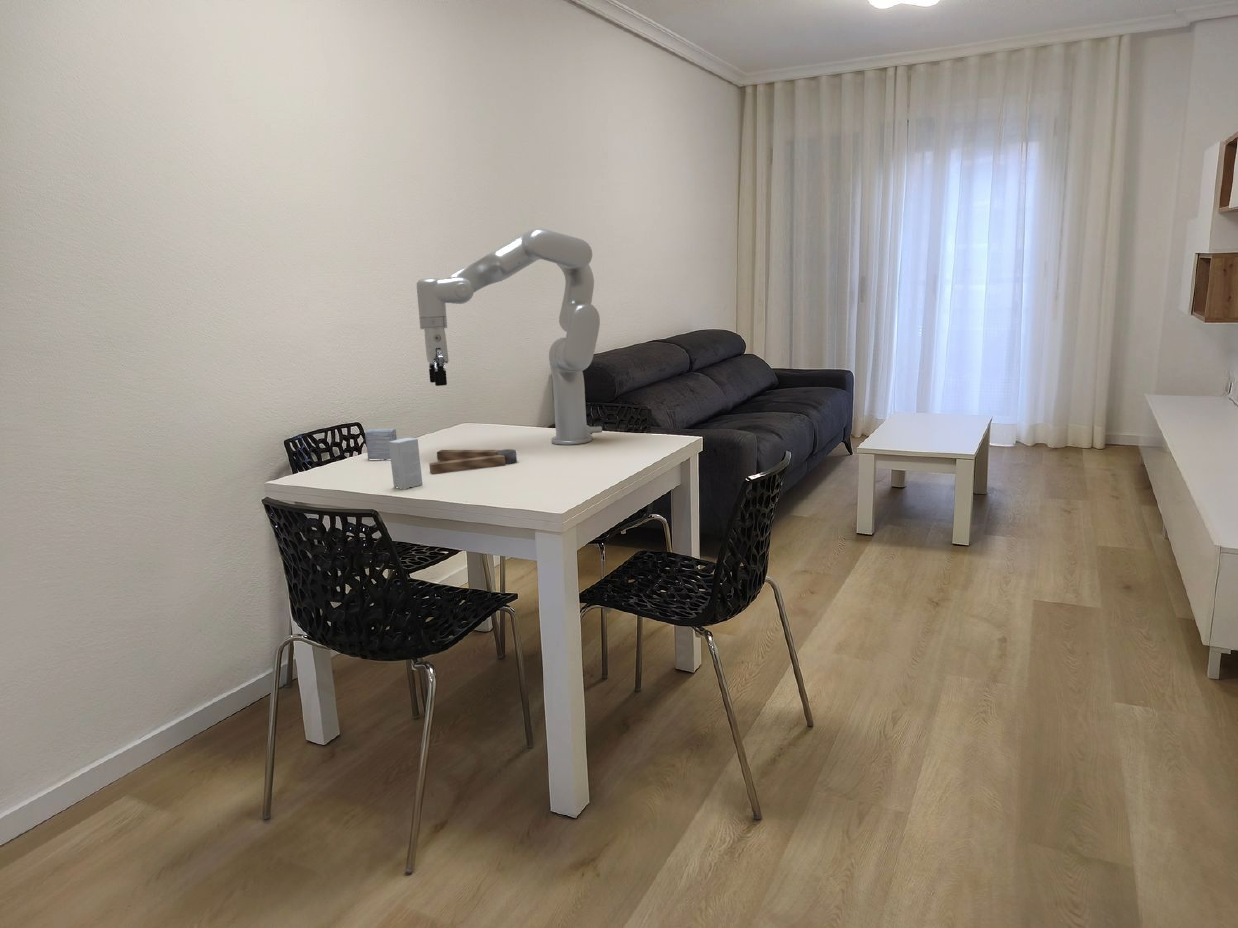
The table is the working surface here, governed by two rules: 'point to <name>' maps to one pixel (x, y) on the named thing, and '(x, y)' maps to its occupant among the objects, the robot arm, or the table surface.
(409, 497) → the table surface
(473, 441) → the table surface
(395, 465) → the skincare box
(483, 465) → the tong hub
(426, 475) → the table surface
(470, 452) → the bar
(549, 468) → the table surface
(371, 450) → the medicine box
